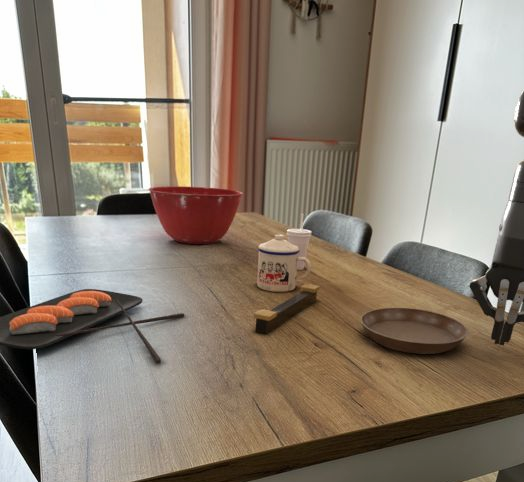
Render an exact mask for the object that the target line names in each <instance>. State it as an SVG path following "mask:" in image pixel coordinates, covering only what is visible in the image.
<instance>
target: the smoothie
mask: <svg viewBox="0 0 524 482" xmlns="http://www.w3.org/2000/svg"><path fill="white" fill-rule="evenodd" d="M304 215H305V213H302V212H301V215H300V217H301V218H300V228H288V229H287V230H286V235H287V241H289V242H290V243H291V244H293V245H296V246H297V247H298V248H299V253H298V257H304V258H306V259H307V255H308V250H309V249H308V248H309V243H310V240H311V237H312V230H309V229H305V228H303V227H304V217H305V216H304ZM305 264H306V263H305V262H304V261H300V260H297V271H301V270H304V268H305Z"/></svg>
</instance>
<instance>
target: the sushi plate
mask: <svg viewBox="0 0 524 482" xmlns="http://www.w3.org/2000/svg"><path fill="white" fill-rule="evenodd" d="M142 303H143V298H142V297H140V296H136V295H132V294H127V293H122V292H116V291H111V290H110V291H109V290H103V289H96V288H95V289H94V288H84V289H79V290H75V291H71V292H69V293H65V294H63V295H60V296H57V297H53V298H51V299H48V300H45V301H42V302H40V303H37V304H34V305H31V306H29V307H25V308H22V309H19V310H17V311H13V312H11V313H8V314H5V315H2V316H0V346H4V347H9V348H14V349H19V350H38V349H42V348H45V347H48V346H51V345H53V344H55V343H59V342H60V341H63V340H65V339H67V338H70V337H72V336H74V335H77V334H83V333H90V332H96V331H101V330H108V329H113V328H114V329H115V328H120V327H128V326H132V327H133V329H134V330H135V332H136V333H137V335H138V336H139V338H140V340H141V341H142V343H143V344H144V346H145V347H146V349H147V351H148V352H149V353H150V355H151V356H152V358H153V359H154V361H155V363H157V364H160V363H161V361H162V360H161V357H160V356H159V354H158V353H157V352H156V350H155V349H154V348H153V346H152V345H151V344H150V342H149V341H148V339H147V338H146V337H145V335H144V334H143V333H142V331H141V330H140V329H139V328H138V326H137V325H140V324H148V323H153V322H154V323H155V322H159V321H160V322H161V321H165V320H173V319H179V318H184V317H185V313H183V312H180V313H173V314H167V315H163V316H157V317H151V318H146V319H145V318H144V319H139V320H135V321H134V320H133V319H132V318H131V316H129V313H127V311H129V310H131V309H134V308H136V307H137V306H139V305H141V304H142ZM122 313H123V314H124V315H125V317H126V318H127V320H128V322H123V323H117V324H111V325H105V326H100V327H99V326H98V327H94V326H96V325H98V324H100V323H102V322H105V321H107V320H109V319H111V318H114V317H116V316H118V315H120V314H122ZM92 327H93V328H92Z"/></svg>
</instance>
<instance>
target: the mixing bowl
mask: <svg viewBox="0 0 524 482" xmlns="http://www.w3.org/2000/svg"><path fill="white" fill-rule="evenodd" d="M147 190H148V191H149V194H150V198H151V201H152V205H153V207H154V210H155V214H156V216H157V218H158V220H159V222H160V225H161V226H162V227H161V228H162V229H163V230H164V232H165V233H166V234H167V235H168V237H170V238H172V239H173V240H174V241H175V242H177V243H182V244H192V245H193V244H194V245H207V244H213V243H217V242H218V241H219V240H221V239H223V237H224V236H225V235H227V233H228V232H229V229H230V228H231V225H232V223H233V222H234V219H235V217H236V215H237V211H238V209H239V205H240V202H241V198H242V195H243V192H242V191H239V190H235V189H229V188H228V189H227V188H218V187H204V186H175V185H173V186H172V185H171V186H169V185H168V186H153V187H149V188H148V189H147Z"/></svg>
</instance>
